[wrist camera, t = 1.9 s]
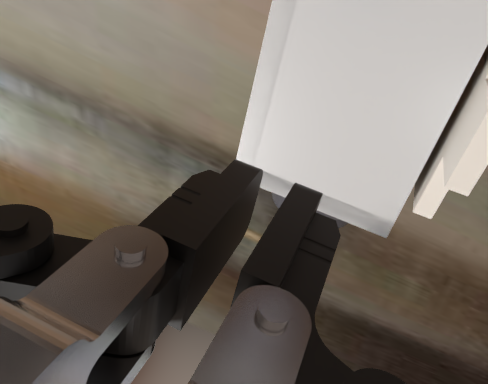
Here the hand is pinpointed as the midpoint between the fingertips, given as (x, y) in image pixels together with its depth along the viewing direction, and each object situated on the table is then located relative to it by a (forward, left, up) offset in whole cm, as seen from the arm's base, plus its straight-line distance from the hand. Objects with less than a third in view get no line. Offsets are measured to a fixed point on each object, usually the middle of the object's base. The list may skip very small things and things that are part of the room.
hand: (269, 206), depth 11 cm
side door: (0, +6, -22) cm, 23 cm away
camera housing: (+1, 0, -23) cm, 23 cm away
